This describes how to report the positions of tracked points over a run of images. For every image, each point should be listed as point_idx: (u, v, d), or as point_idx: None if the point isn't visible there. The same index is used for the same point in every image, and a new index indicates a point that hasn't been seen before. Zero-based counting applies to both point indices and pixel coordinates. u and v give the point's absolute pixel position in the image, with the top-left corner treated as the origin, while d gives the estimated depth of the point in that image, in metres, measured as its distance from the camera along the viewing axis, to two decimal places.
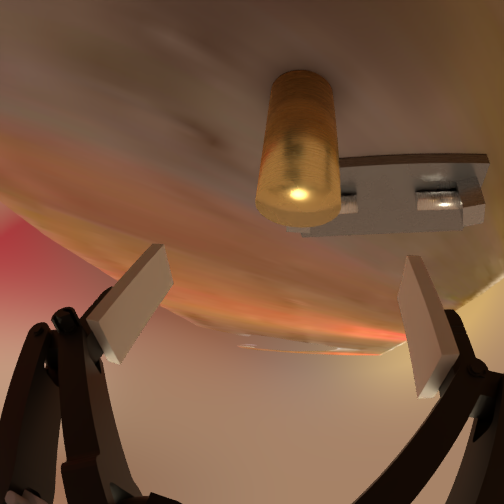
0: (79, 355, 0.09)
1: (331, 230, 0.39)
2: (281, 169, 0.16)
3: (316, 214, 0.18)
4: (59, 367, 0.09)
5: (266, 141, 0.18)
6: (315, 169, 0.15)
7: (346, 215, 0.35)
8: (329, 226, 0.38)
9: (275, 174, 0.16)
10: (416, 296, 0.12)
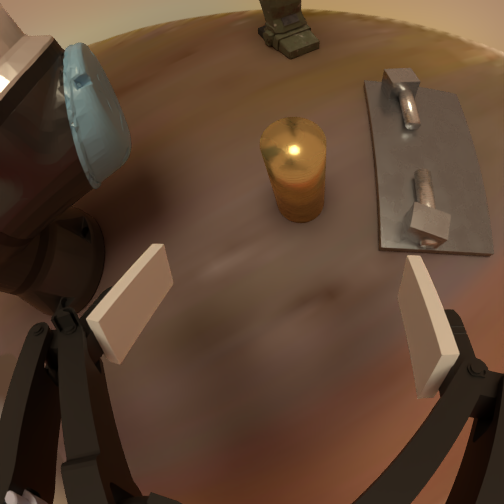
0: (79, 355, 0.09)
1: (479, 215, 0.26)
2: None
3: (305, 132, 0.21)
4: (59, 367, 0.09)
5: (274, 185, 0.25)
6: None
7: (451, 193, 0.27)
8: (472, 216, 0.26)
9: None
10: (416, 296, 0.12)
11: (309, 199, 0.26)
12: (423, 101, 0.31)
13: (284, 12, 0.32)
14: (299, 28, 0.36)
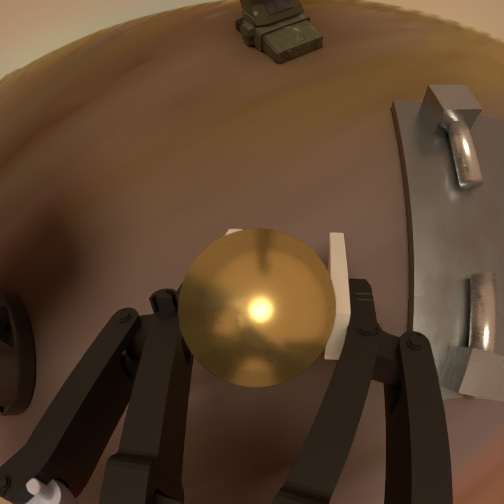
0: (170, 344, 0.10)
1: None
2: None
3: (287, 279, 0.09)
4: (144, 351, 0.10)
5: None
6: None
7: None
8: None
9: None
10: None
11: None
12: (479, 137, 0.19)
13: None
14: (292, 18, 0.23)
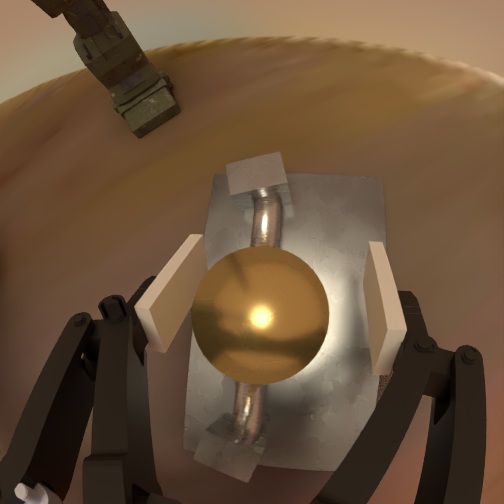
0: (123, 346, 0.10)
1: (352, 421, 0.18)
2: None
3: (287, 291, 0.11)
4: (99, 356, 0.09)
5: None
6: None
7: (307, 389, 0.19)
8: (337, 423, 0.18)
9: None
10: (373, 278, 0.13)
11: None
12: (307, 206, 0.23)
13: (118, 75, 0.24)
14: (150, 89, 0.28)
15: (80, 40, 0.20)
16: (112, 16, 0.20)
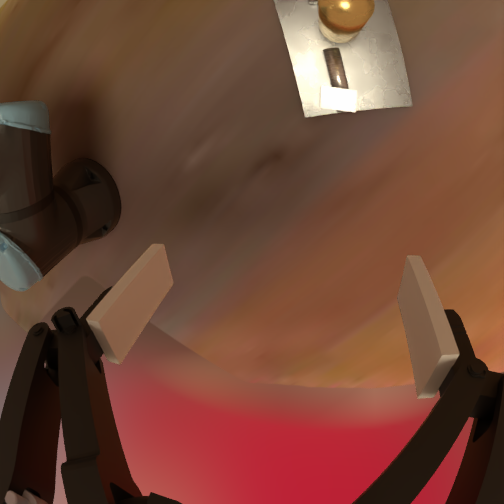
0: (79, 355, 0.09)
1: (395, 73, 0.29)
2: (320, 9, 0.19)
3: None
4: (59, 367, 0.09)
5: (330, 28, 0.23)
6: None
7: (364, 58, 0.29)
8: (387, 75, 0.29)
9: (322, 12, 0.19)
10: (416, 296, 0.12)
11: (357, 32, 0.23)
12: None
13: None
14: None
15: None
16: None
